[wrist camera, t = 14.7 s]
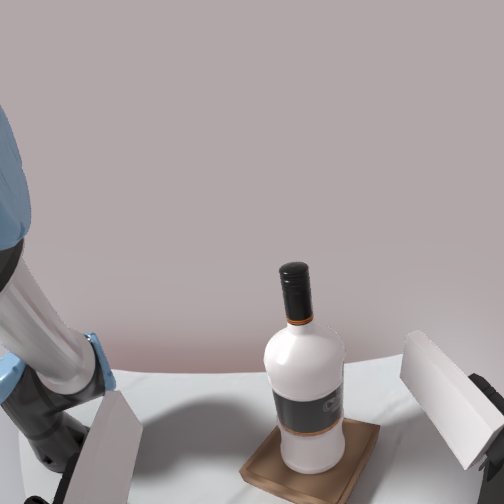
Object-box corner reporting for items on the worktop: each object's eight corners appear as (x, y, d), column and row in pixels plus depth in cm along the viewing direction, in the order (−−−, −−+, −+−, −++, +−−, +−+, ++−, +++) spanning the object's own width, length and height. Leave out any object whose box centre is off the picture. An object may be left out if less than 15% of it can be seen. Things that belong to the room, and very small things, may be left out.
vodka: (286, 429, 39) (253, 252, 30) (344, 427, 36) (342, 243, 28) (277, 475, 30) (226, 293, 22) (343, 475, 28) (352, 283, 19)
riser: (244, 481, 33) (238, 470, 32) (294, 417, 45) (292, 403, 44) (337, 517, 24) (338, 509, 23) (377, 438, 36) (380, 424, 35)
